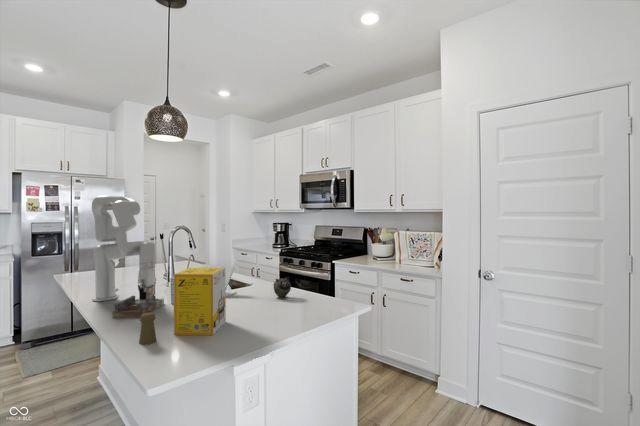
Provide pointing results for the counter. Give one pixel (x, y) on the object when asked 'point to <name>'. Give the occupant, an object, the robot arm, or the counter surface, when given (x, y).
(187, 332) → the packaging box
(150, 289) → the ash block
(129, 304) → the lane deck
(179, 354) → the counter surface
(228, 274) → the tablet stand
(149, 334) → the cork
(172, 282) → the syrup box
